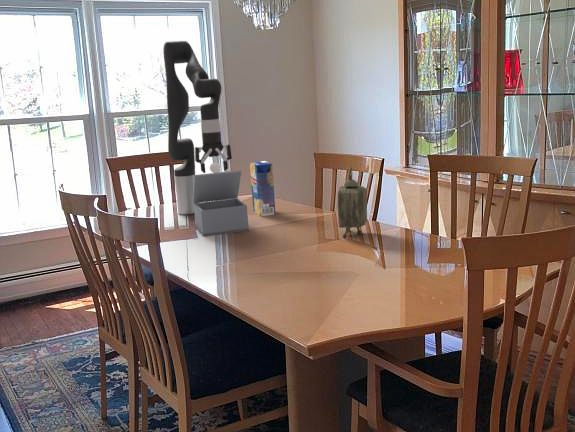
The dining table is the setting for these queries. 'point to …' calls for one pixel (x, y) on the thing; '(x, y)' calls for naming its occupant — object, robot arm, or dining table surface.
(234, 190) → the lid flap
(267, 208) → the beverage box
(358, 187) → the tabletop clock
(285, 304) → the dining table surface
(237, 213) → the carton
